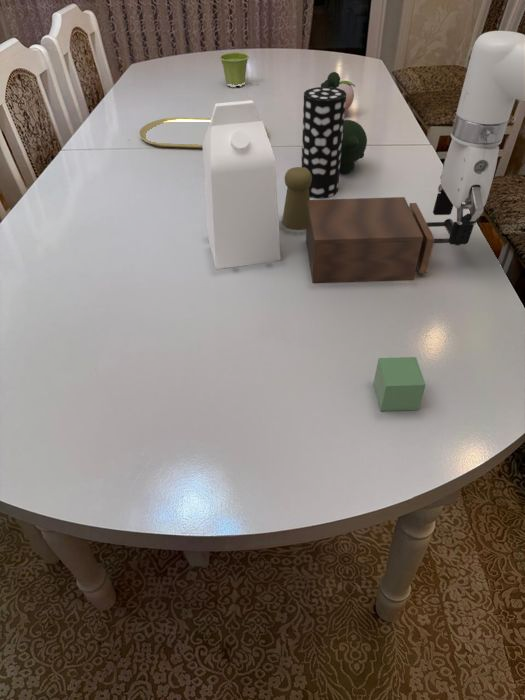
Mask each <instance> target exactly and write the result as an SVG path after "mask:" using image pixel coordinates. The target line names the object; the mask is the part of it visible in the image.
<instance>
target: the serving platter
mask: <svg viewBox="0 0 525 700" xmlns="http://www.w3.org/2000/svg"><path fill="white" fill-rule="evenodd" d="M210 120H211V117H184V116H183V117H182V116H181V117H177V116H176V117H168V118H162V119H157V120H154V121H151V122H149V123H147V124H145V125H144V126H142V127H141V128H140V130H139V131H138V134H139V135H138V136H139V138H140V139H141V140H143V141H144V142H145V143H146V144H149V145H152V146H154V147H155V146H156V147H161V148H183V149H203V145H198V144H172V143H171V144H170V143H156V142H151V141H148V140H147V139H146V133H147V131H149V130H150V129H152V128H153V127H156V126H157V125H160V124H163V123H172V122H210ZM264 127H265V130H266V133H267V134H268V132H269V130H268V128H267V126H266V125H264Z"/></svg>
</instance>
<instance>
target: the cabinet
mask: <svg viewBox="0 0 525 700" xmlns="http://www.w3.org/2000/svg"><path fill="white" fill-rule="evenodd" d="M307 204H308V205H307V226H306V230H305V244H306V250H307V251H306V252H307V257H308V263H309V269H310V270H309V271H310V276H311V283H312V284H318V283H319V284H320V283H321V284H325V283H353V282H354V283H355V282H358V283H359V282H385V281H386V282H387V281H388V282H389V281H390V282H391V281H413V280H414V279H415V274H416V271H417V262H418V258H419V253H420V249H421V245H422V241H423V235H422V233H421V231H420V229H419V227H418V224H417V222H416V220H415V218H414V216H413V214H412V212H411V210H410V208H409V204H408V201H407V199H406V197H405V196H397V197H392V196H391V197H364V198H363V197H361V198H360V197H357V198H331V199H329V198H328V199H327V198H324V199H310V200H308V203H307Z"/></svg>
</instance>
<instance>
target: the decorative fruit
mask: <svg viewBox="0 0 525 700" xmlns="http://www.w3.org/2000/svg"><path fill="white" fill-rule="evenodd" d="M353 87H356V85H355V84H354V83H353V82H352V81H350V80H340V83H339V86H338V87H337V88H338V89H341V90H344V91H345V92H346V104H345V112H346V111H347V110H349V109H350V107H352V103H353V102H354V99H355V98H354V97H355V92H354V88H353Z"/></svg>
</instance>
